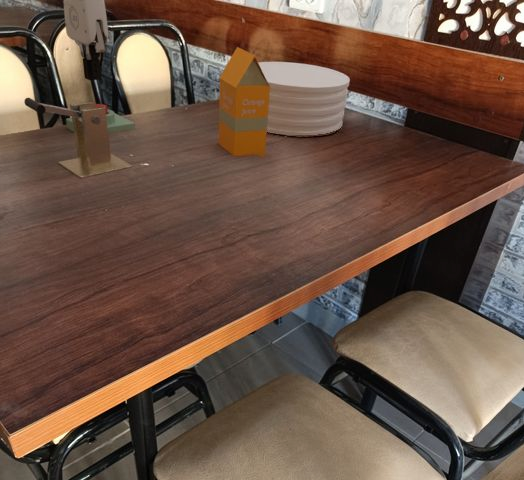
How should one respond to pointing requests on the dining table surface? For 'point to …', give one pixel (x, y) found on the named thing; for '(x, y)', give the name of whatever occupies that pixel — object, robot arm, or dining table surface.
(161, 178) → the dining table surface
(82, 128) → the bracket
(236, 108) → the orange juice
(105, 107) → the stop button
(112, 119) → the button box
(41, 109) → the lever
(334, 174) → the dining table surface
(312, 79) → the plate stack
